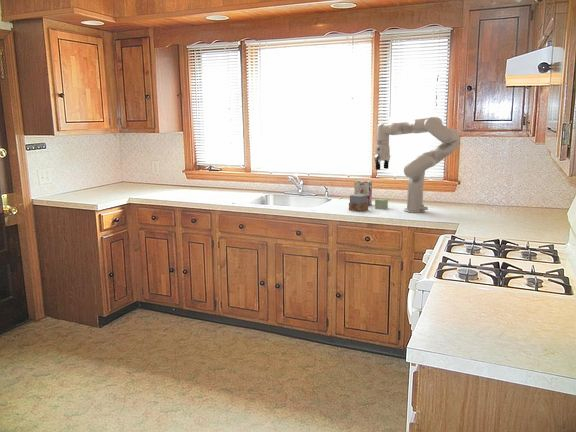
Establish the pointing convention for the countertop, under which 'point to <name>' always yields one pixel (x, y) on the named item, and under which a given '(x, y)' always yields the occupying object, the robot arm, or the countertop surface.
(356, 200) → the upper block
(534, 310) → the countertop surface
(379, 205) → the green cube
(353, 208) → the lower block
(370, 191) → the candy bar box
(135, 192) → the countertop surface
